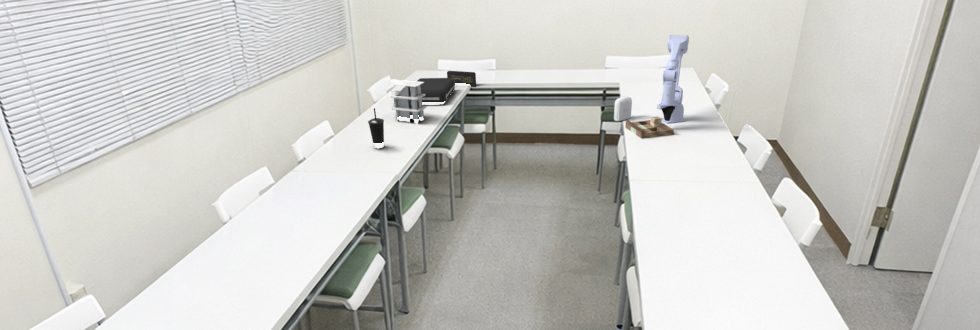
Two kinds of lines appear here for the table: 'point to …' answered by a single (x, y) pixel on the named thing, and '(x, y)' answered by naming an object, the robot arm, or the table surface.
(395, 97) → the file organizer
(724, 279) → the table surface
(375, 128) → the drinking cup
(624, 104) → the photo printer
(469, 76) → the nameplate
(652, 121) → the maple block
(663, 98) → the robot arm
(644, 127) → the box
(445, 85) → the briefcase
